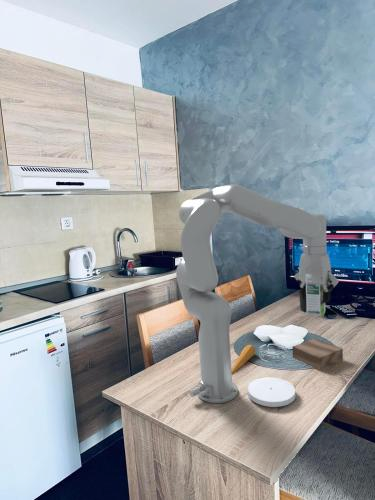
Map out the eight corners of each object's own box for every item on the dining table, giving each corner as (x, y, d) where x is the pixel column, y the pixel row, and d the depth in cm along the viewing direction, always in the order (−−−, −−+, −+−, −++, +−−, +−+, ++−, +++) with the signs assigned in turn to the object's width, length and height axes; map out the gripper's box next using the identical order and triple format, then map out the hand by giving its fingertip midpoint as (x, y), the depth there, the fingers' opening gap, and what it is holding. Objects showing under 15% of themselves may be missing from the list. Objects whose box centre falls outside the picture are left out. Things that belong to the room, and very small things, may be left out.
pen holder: (320, 308, 183) (320, 289, 182) (316, 313, 175) (316, 294, 174) (302, 306, 188) (301, 288, 187) (297, 311, 180) (297, 292, 179)
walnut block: (319, 372, 119) (319, 358, 118) (292, 359, 129) (292, 346, 129) (342, 361, 125) (342, 348, 124) (315, 350, 135) (314, 338, 135)
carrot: (249, 354, 137) (244, 344, 137) (259, 352, 135) (253, 341, 135) (226, 383, 121) (220, 371, 121) (236, 381, 118) (231, 369, 118)
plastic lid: (261, 380, 116) (261, 373, 116) (303, 392, 107) (302, 385, 107) (239, 400, 106) (238, 392, 105) (283, 416, 97) (283, 407, 96)
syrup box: (306, 315, 124) (305, 274, 122) (309, 310, 129) (308, 271, 127) (323, 316, 121) (322, 275, 119) (325, 311, 126) (325, 271, 124)
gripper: (286, 250, 126) (288, 298, 129) (333, 253, 113) (333, 307, 115) (299, 247, 131) (300, 294, 133) (344, 250, 117) (345, 302, 120)
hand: (315, 299), depth 124 cm, fingers closed on syrup box, 7 cm apart
